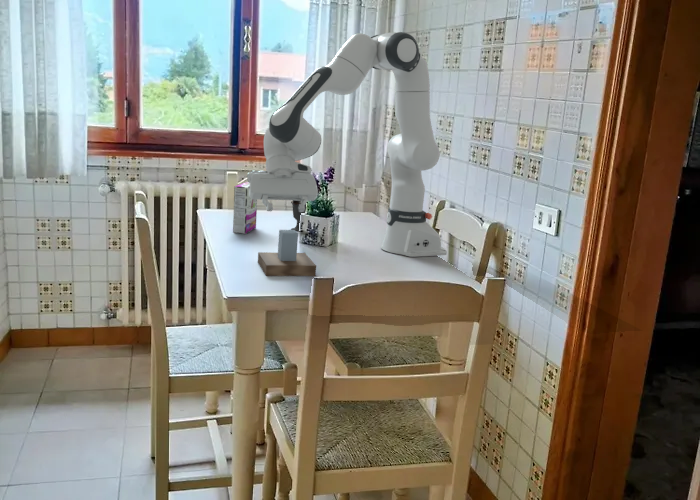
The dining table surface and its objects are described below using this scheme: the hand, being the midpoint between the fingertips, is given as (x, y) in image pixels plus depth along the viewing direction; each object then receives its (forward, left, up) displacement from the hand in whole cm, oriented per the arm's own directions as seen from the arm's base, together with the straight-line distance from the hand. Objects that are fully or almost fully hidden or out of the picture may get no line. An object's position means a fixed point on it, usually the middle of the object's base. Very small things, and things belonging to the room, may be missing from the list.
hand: (286, 210), depth 193 cm
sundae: (-15, -46, -16) cm, 51 cm away
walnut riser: (0, +6, -16) cm, 17 cm away
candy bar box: (+5, -43, -16) cm, 46 cm away
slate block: (0, +6, -13) cm, 14 cm away
